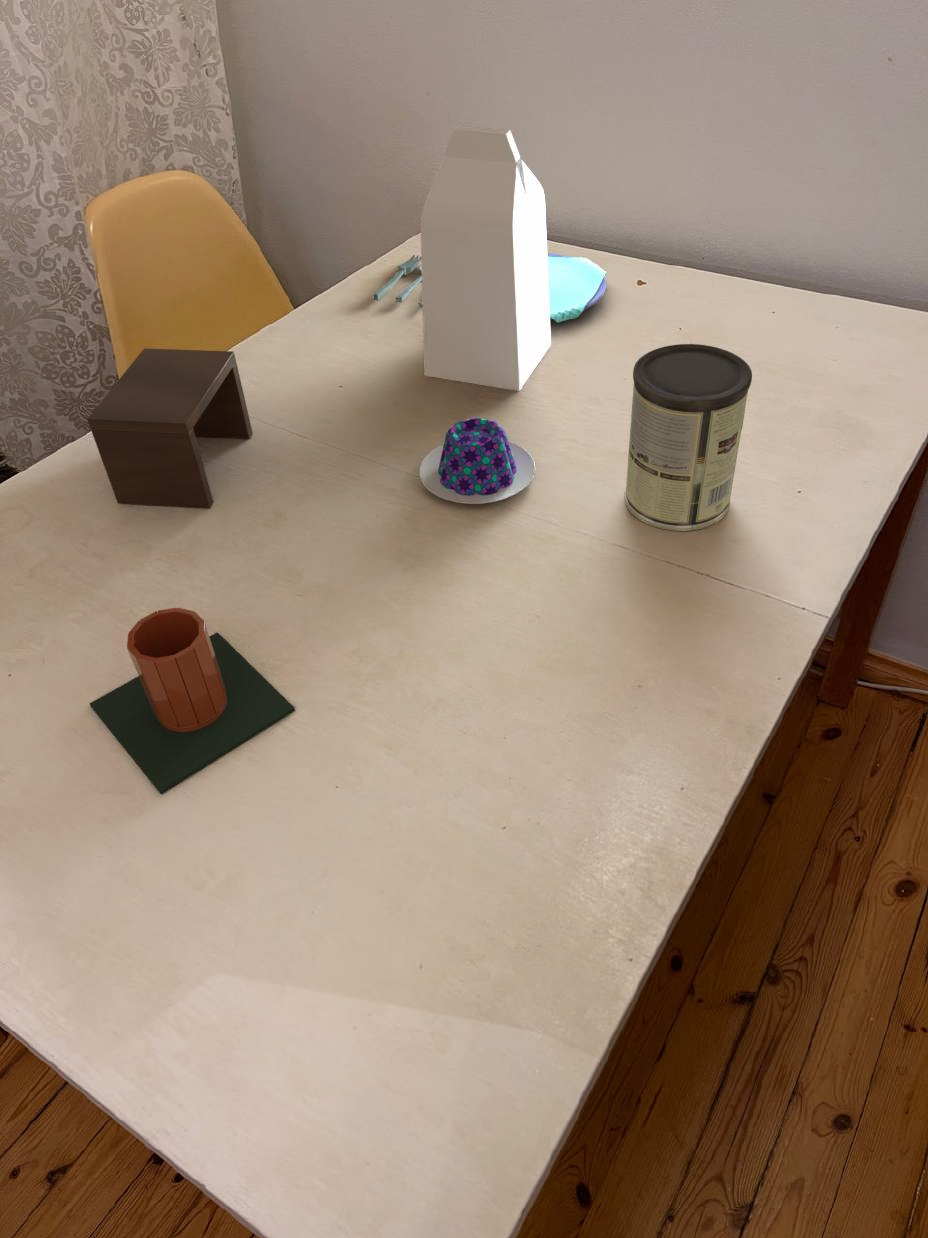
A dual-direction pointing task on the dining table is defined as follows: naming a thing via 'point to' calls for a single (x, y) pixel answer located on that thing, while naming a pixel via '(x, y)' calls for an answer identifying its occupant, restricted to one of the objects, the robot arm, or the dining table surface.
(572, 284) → the cutlery set
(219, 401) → the shelf
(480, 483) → the pudding
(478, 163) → the milk
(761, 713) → the dining table surface
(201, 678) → the cup
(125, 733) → the mat
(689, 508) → the coffee can
